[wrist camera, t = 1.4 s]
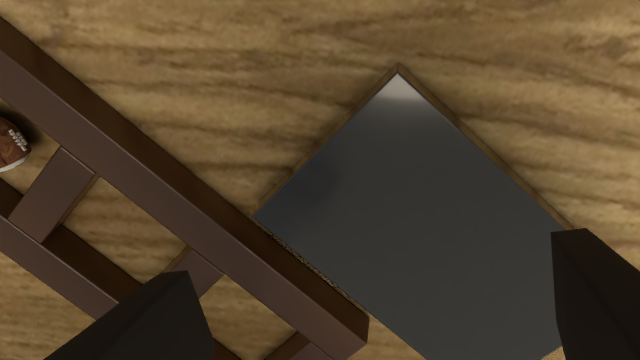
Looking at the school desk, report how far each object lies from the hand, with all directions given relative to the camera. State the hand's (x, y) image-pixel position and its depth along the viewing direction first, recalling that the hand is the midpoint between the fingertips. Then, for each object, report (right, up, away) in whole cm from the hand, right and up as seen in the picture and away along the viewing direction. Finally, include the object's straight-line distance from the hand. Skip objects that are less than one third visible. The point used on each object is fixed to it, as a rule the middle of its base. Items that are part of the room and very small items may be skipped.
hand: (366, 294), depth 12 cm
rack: (-9, 0, +13) cm, 15 cm away
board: (+4, 0, +11) cm, 12 cm away
